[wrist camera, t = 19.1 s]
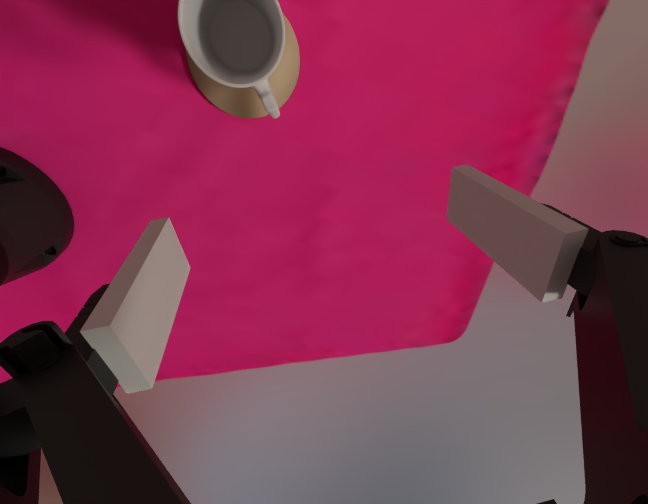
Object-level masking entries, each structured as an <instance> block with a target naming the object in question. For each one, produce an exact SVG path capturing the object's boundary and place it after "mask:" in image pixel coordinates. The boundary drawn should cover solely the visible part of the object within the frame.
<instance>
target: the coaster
mask: <svg viewBox="0 0 648 504" xmlns="http://www.w3.org/2000/svg"><path fill="white" fill-rule="evenodd" d="M282 14H283V13H282ZM283 18H284V24H285V45H284V50H283V54H282V57H281V59H280V62H279V64H278V66H277V67H276V69H275V70H274V72H273V73H272V74H271V75H270V76H269V77H268V81H269V83H270V86H271V88H272V90H273V93H274V95H275V98H276V102H277V105H278V109H279V108H280V107H281V106H282V105H283V104H284V103H285V102H286V101H287V100H288V98H289V97H290V95H291V94H292V92H293V90H294V88H295V86H296V83H297V79H298V75H299V68H300V54H299V47H298V43H297V39H296V36H295V34H294V31H293V29H292V27H291V25H290V23H289V21H288V20H287V18H286V17H285V15H284V14H283ZM186 56H187V61H188V65H189V69H190V72H191V74H192V76H193V79H194V81H195V82H196V84H197V86H198V88H199V89H200V90H201V92H202V93H203V94H204V95H205V97H206V98H207V99H208V100H209V101H210V102H211V103H213V104H214V105H215V106H216V107H218V108H219V109H221V110H222V111H224V112H226V113H228V114H231V115H234V116H237V117H241V118H258V117H263V116H266V115H269V113H268V112H266V110H265V108H264V106H263V104H262V102H261V100H260V98H259V96H258V94H257V93H256V91H255V90H254V88H253V87H252V86H251V87H246V88H235V87H229V86H226V85H223V84H221V83H218V82H216V81H215V80H213V79H211V78H210V77H209V76H207V75H206V74H205V73H204V72H203V71H202V70H201V69H200V68H199V67H198V66H197V65H196V64H195V63H194V61H193V60H192V58H191V57H190V55H189V54H188V52H187V50H186Z"/></svg>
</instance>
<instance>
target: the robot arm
mask: <svg viewBox="0 0 648 504" xmlns="http://www.w3.org/2000/svg"><path fill="white" fill-rule="evenodd" d="M447 220H448V221H449V222H450V223H452V224H453V225H454V226H455V227H456V228H457V229H458V230H460V231H461V232H462V233H463V234H464V235H465V236H466V237H468V238H469V239H470V240H471V241H472V242H473V243H474V244H475V245H477V246H478V247H479V248H480V249H481V250H482V251H483V252H485V253H486V254H487V255H488V256H489V257H490V258H491V259H493V260H494V261H495V262H496V263H497V264H498V265H499V266H501V267H502V268H503V269H504V270H505V271H506V272H508V273H509V274H510V275H511V276H512V277H513V278H514V279H515V280H517V281H518V282H519V283H520V284H521V285H522V286H523V287H525V288H526V289H527V290H528V291H529V292H530V293H531V294H532V295H534V296H535V297H536V298H537V299H538V300H540V302H547V301H551V300H556V299H561V298H562V297H563V294H564V292H565V289H566V287H567V284H569V285H570V286H571V287H573V288H574V289H576V290H577V291H576V293H575V296H574V298H573V301H572V303H571V305H570V308H569V310H568V313H567V315H566V316H568V317H570V316H571V314H572V313H573V312H574V320H575V336H576V350H577V366H578V379H579V395H580V410H581V425H582V440H583V455H584V470H585V484H586V493H585V501H584V504H648V238H646V237H644V236H641V235H638V234H635V233H632V232H627V231H617V230H611V231H605V232H600V231H598V230H596V229H594V228H592V227H590V226H588V225H586V224H584V223H582V222H581V221H578V220H576V219H575V218H571V216H569V215H567V214H565V213H562V212H561V211H559V210H557V209H556V208H554V207H552V206H549V205H546V204H542V203H539V202H537V201H535V200H533V199H531V198H529V197H528V196H526V195H524V194H522V193H520V192H518V191H516V190H514V189H512V188H511V187H509V186H507V185H505V184H503V183H501V182H499V181H497V180H495V179H494V178H492V177H490V176H488V175H486V174H484V173H482V172H480V171H478V170H477V169H475V168H473V167H471V166H469V165H462V166H457V167H452V173H451V183H450V192H449V201H448V211H447ZM73 232H74V219H73V214H72V211H71V208H70V206H69V204H68V202H67V200H66V198H65V196H64V195H63V193H62V192H61V190H60V189H59V188H58V187H57V185H56V184H55V183H54V182H53V181H52V180H51V179H50V178H49V177H48V176H47V175H46V174H45V173H43V172H42V171H41V170H40V169H39V168H37V167H36V166H34V165H33V164H32V163H30V162H29V161H27V160H25V159H24V158H22V157H20V156H18V155H16V154H14V153H12V152H10V151H8V150H6V149H3V148H1V147H0V286H1V285H3V284H6V283H8V282H11V281H13V280H16V279H18V278H21V277H23V276H26V275H28V274H31V273H33V272H35V271H38V270H40V269H42V268H44V267H46V266H47V265H49V264H50V263H52V262H53V261H54V260H55V259H56V258H57V257H58V256H59V255H60V254H61V253H62V252H63V251H64V250H65V249H66V248H67V246H68V245H69V243H70V242H71V239H72V236H73ZM189 271H190V266H189V263H188V261H187V259H186V256H185V254H184V252H183V249H182V247H181V245H180V242H179V240H178V237H177V235H176V233H175V230H174V228H173V226H172V223H171V221H170V219H169V217H167V218H161V219H156V220H151V221H150V223H149V224H148V226H147V227H146V229H145V230H144V232H143V234H142V235H141V237H140V238H139V240H138V241H137V243H136V244H135V246H134V248H133V249H132V251H131V252H130V254H129V255H128V257H127V258H126V260H125V262H124V263H123V265H122V266H121V268H120V269H119V271H118V272H117V274H116V276H115V277H114V279H113V280H112V282H111V283H110V284H106V285H103V286H101V287H100V288H99V289H98V290H97V291H96V292H94V293H93V294H92V295H91V296H90V297H89V299H88V300H87V302H86V303H85V305H84V308H82V309H81V310H80V312H79V313H78V317H76V318H75V319H74V321H73V322H72V323H71V325H70V326H69V328H68V329H67V331H66V332H65V334H64V333H63V331H62V330H61V329H60V328H59V326H58V325H57V324H56V323H54V322H53V321H42V322H38V323H34V324H31V325H29V326H26V327H24V328H22V329H20V330H18V331H17V332H15V333H13V334H12V335H10V336H8V337H7V338H6V339H5V340H4V341H3V342H1V343H0V366H1V367H2V368H3V369H4V370H6V371H7V372H8V373H9V374H10V375H11V376H12V377H13V378H12V379H10V380H7V381H5V382H2V383H0V504H38V500H39V479H40V457H41V447H42V450H43V453H44V455H45V458H46V460H47V463H48V465H49V468H50V470H51V473H52V476H53V478H54V481H55V483H56V485H57V488H58V491H59V493H60V496H61V498H62V501H63V504H191V503H190V502H189V500H188V499H187V497H186V496H185V495H184V493H183V492H182V490H181V489H180V487H179V486H178V485H177V483H176V482H175V480H174V479H173V478H172V476H171V475H170V473H169V472H168V471H167V470H166V468H165V466H164V465H163V463H162V462H161V461H160V459H159V458H158V456H157V455H156V454H155V452H154V451H153V449H152V448H151V447H150V445H149V444H148V442H147V441H146V439H145V438H144V437H143V435H142V434H141V432H140V431H139V430H138V428H137V427H136V425H135V424H134V423H133V421H132V420H131V418H130V417H129V416H128V414H127V413H126V411H125V410H124V408H123V407H122V406H121V404H120V403H119V401H118V400H117V399H116V397H115V396H114V395H113V393H114V391H115V389H116V386H117V384H118V383H119V384H120V385H121V387H122V388H123V389H124V391H125V392H126V393H127V394H129V393H133V392H138V391H142V390H147V389H151V388H153V385H154V382H155V379H156V375H157V372H158V369H159V366H160V363H161V360H162V356H163V353H164V350H165V347H166V344H167V341H168V337H169V334H170V331H171V328H172V325H173V322H174V318H175V315H176V312H177V309H178V306H179V303H180V299H181V296H182V293H183V290H184V287H185V283H186V280H187V277H188V274H189ZM538 504H556V502H555V500H554V499H553V500H549V501H545V502H542V503H538Z"/></svg>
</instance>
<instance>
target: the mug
mask: <svg viewBox="0 0 648 504" xmlns="http://www.w3.org/2000/svg"><path fill="white" fill-rule="evenodd" d="M178 25H179V30H180V34H181V38H182V41H183V43H184V46H185V48H186V50H187V52H188V54H189V55H190V57H191V58H192V60H193V61H194V63H195V64H196V65H197V66H198V67H199V68H200V69H201V70H202V71H203V72H204V73H205V74H206V75H207V76H209V77H210V78H211V79H213V80H215V81H216V82H218V83H221V84H223V85H226V86H229V87H235V88H246V87H251V86H252V87H253V88H254V90H255V91H256V93H257V94H258V96H259V98H260V100H261V102H262V104H263V106H264V108H265V110H266V112H268V113H269V114H270V116H271V117H273V118H278V117H279V116H280V112H279V109H278V105H277V102H276V98H275V95H274V93H273V90H272V88H271V86H270V83H269V81H268V77H269V76H270V75H271V74H272V73H273V72H274V70H275V69H276V67H277V66H278V64H279V62H280V59H281V57H282V54H283V50H284V45H285V24H284V18H283V14H282V11H281V8H280V5H279V3H278V0H179V3H178Z"/></svg>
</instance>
